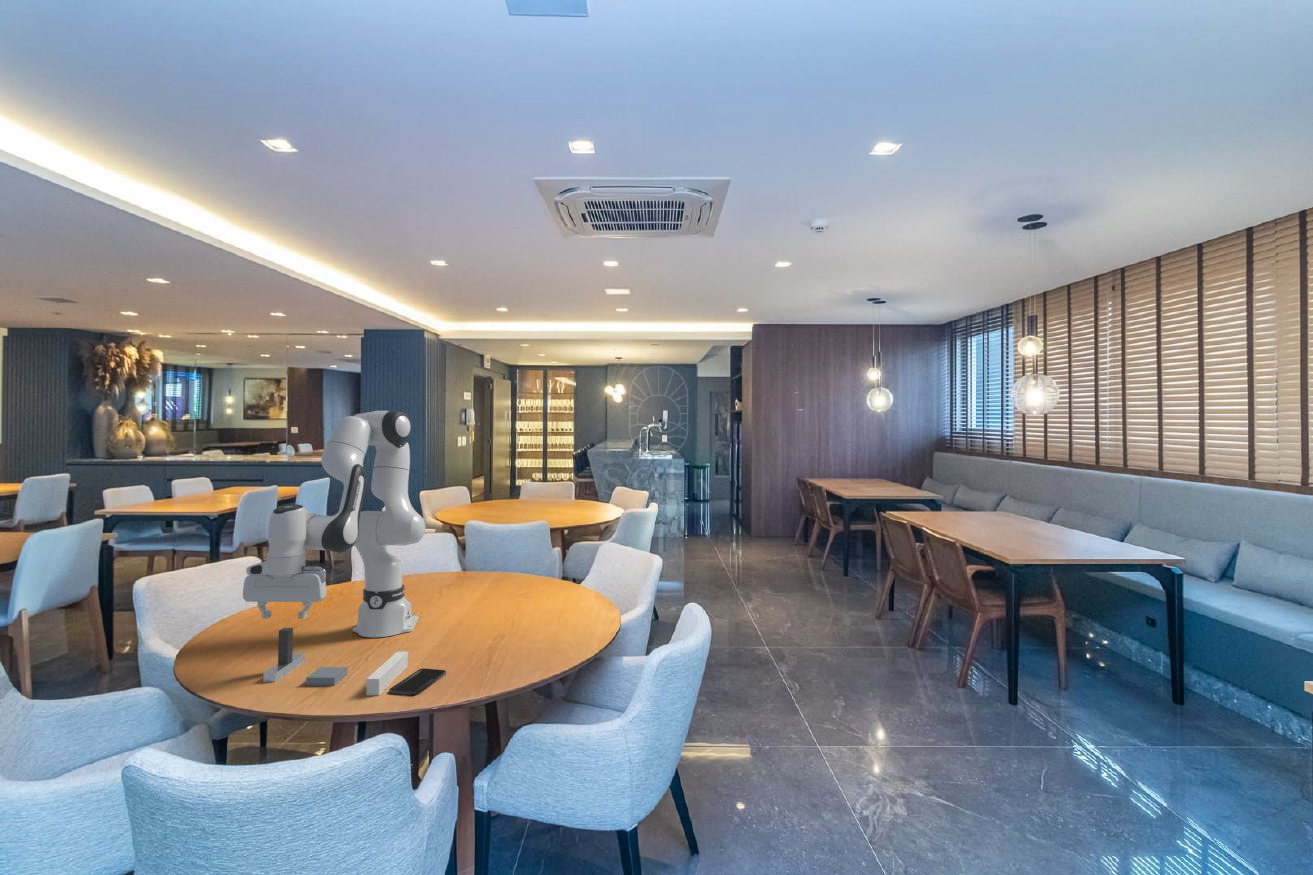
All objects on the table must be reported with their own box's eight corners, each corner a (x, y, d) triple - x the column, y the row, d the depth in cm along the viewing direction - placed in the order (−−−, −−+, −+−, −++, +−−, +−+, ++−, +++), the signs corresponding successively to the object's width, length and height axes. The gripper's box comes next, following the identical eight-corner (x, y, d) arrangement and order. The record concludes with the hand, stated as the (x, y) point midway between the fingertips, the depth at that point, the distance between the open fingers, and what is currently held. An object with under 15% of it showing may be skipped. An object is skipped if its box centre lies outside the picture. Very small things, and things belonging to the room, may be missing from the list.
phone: (387, 690, 147) (421, 667, 162) (386, 694, 147) (421, 672, 162) (416, 693, 146) (448, 670, 160) (416, 697, 146) (448, 674, 160)
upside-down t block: (293, 662, 167) (294, 621, 167) (304, 662, 167) (305, 621, 167) (263, 682, 153) (264, 637, 153) (275, 682, 153) (276, 637, 153)
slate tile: (320, 676, 158) (320, 667, 158) (347, 676, 158) (347, 666, 158) (306, 687, 151) (306, 677, 151) (334, 687, 151) (334, 677, 151)
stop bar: (396, 666, 165) (396, 651, 165) (407, 666, 165) (407, 651, 165) (366, 695, 146) (366, 678, 146) (378, 695, 146) (379, 678, 146)
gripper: (331, 564, 163) (330, 615, 163) (255, 563, 163) (253, 614, 162) (320, 568, 157) (318, 621, 157) (240, 567, 156) (237, 621, 156)
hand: (284, 618), depth 159 cm, fingers open, 8 cm apart
